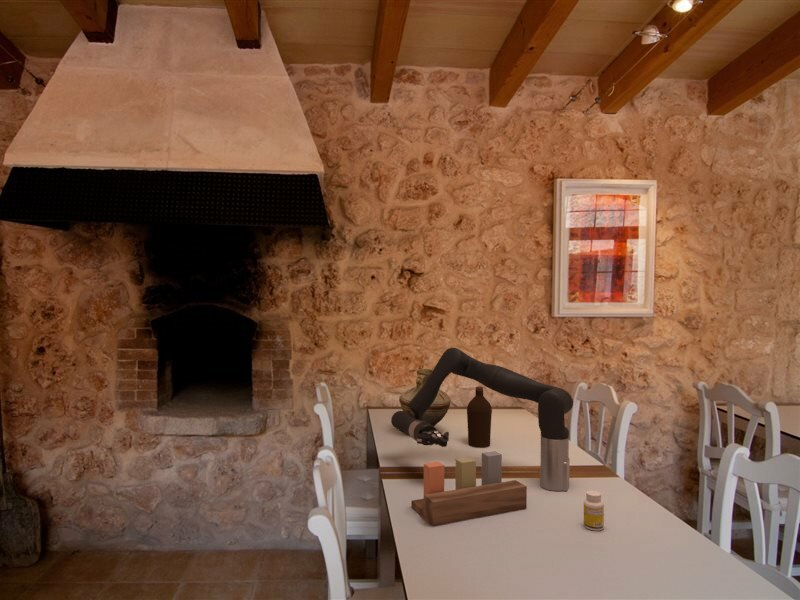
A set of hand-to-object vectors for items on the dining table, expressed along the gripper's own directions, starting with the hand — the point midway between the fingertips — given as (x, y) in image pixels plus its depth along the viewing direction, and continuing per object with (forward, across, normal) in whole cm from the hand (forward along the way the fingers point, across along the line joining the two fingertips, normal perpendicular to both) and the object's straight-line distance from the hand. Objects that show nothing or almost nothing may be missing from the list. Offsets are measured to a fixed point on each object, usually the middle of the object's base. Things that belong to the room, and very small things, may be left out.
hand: (444, 443), depth 185 cm
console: (+16, 0, +16) cm, 23 cm away
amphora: (-67, +25, +15) cm, 73 cm away
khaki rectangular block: (+14, 0, +14) cm, 19 cm away
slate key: (+11, +11, +14) cm, 21 cm away
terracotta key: (+14, -11, +14) cm, 22 cm away
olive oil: (-42, +38, +15) cm, 59 cm away
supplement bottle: (+41, +25, +17) cm, 51 cm away
